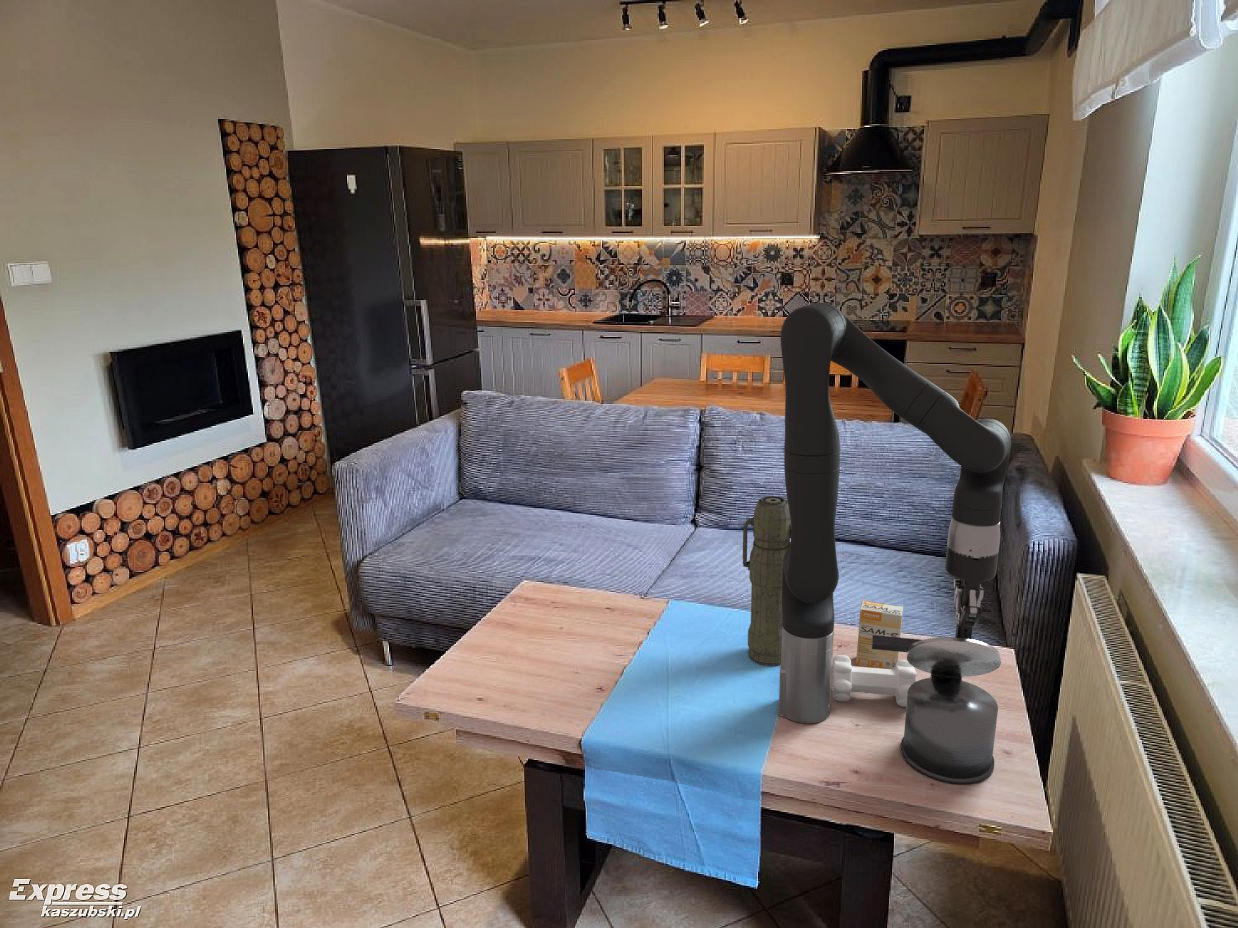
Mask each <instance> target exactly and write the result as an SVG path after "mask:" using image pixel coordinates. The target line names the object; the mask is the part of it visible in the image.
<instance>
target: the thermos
mask: <svg viewBox="0 0 1238 928" xmlns="http://www.w3.org/2000/svg"><path fill="white" fill-rule="evenodd" d="M749 525H750V526H751V527H753V530H752V531H753V533H752V537H753V542H752V548H751V550H750V551H751V552H750V554H749V560H748V528H749ZM742 529H743V530H742V532H743V533H742V566H743V567H744V568H747V571H749V573H748V574H749V576H748V577H749V581H750V583H751V590H750V591H751V596H750V599H751V600H750V624H749V627H748V631H747V646H748V653H747V654H748V655H747V656H748V658H749V660H750V661H751V662H752V663H755V664H757V665H759V666H763V667H772V668H773V667H780V666H781V645H782V570H783V559H784V555H785V553H786V551H787V549H788V548H789V547H790V543H791V520H790V513H789V507H788V500H787V498H786V499H785V498H783V497H782V496H781V497H780V496H778V495H777V496H775V495H769V496H763V497H762V498H759V499H758V500H757V503H756V506H755V507H754V511H753V516H752V518H748V519H747V520H746V521H745V522H744V524H743V527H742Z"/></svg>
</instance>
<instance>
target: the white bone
mask: <svg viewBox="0 0 1238 928" xmlns="http://www.w3.org/2000/svg"><path fill="white" fill-rule="evenodd" d="M917 676H918V673H917V671H916V668H915V667H913V666H912V665H911V664H910V663H909V662H908V661H907V659H900V660H898V662H897V663H896V668H895V670H892V669H880V668H868V667H860V666H856V665H855V666H854V665H852V660H851V658H850V657H849V656H848V655H844V654H839V655H835V656H834V657H832V681H831V691H832V695H831V696H832V698H833V699H834V700H835V701H838V702H843V703H844V702H847V701H849V700H850V699H851V693H862V694H872V695H874V694H875V695H883V696H893V697H895V702H896V704H897V705H898V706H900V707H902V708H906V706H907V694H908V689H909V687H910V686H911V685H912V684H913V683H914V682H916V681H917Z"/></svg>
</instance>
